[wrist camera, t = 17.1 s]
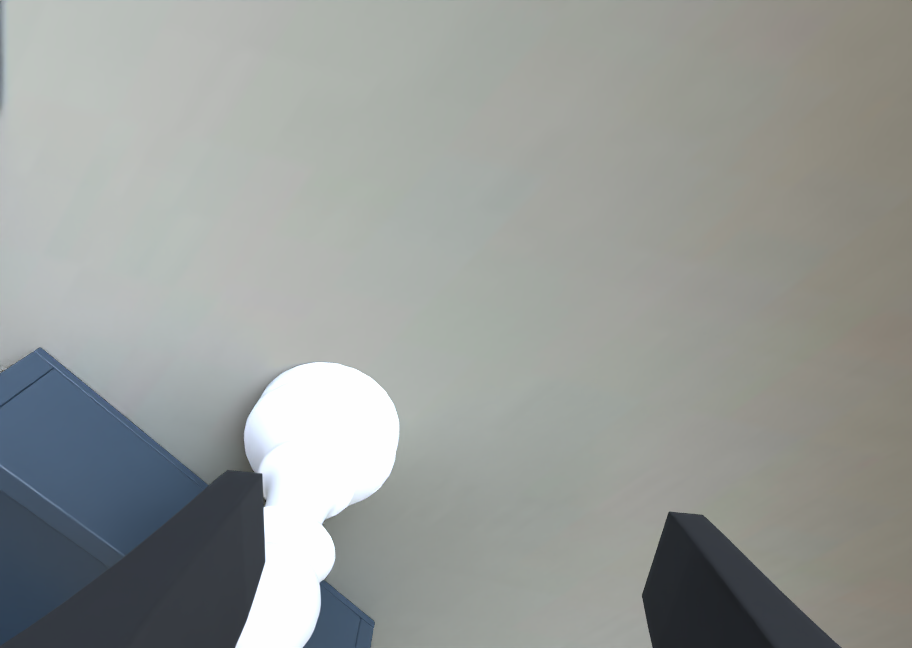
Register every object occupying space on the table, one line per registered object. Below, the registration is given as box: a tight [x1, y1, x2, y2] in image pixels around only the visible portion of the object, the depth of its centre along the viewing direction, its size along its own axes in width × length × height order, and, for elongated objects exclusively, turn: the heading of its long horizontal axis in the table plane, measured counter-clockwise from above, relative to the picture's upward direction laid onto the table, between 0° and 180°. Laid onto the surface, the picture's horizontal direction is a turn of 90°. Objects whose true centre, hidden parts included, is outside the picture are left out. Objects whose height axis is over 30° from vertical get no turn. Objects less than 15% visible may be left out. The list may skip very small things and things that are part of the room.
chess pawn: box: [235, 362, 399, 648], centre depth 16 cm, size 5×5×9 cm
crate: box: [0, 348, 375, 648], centre depth 22 cm, size 17×15×4 cm
